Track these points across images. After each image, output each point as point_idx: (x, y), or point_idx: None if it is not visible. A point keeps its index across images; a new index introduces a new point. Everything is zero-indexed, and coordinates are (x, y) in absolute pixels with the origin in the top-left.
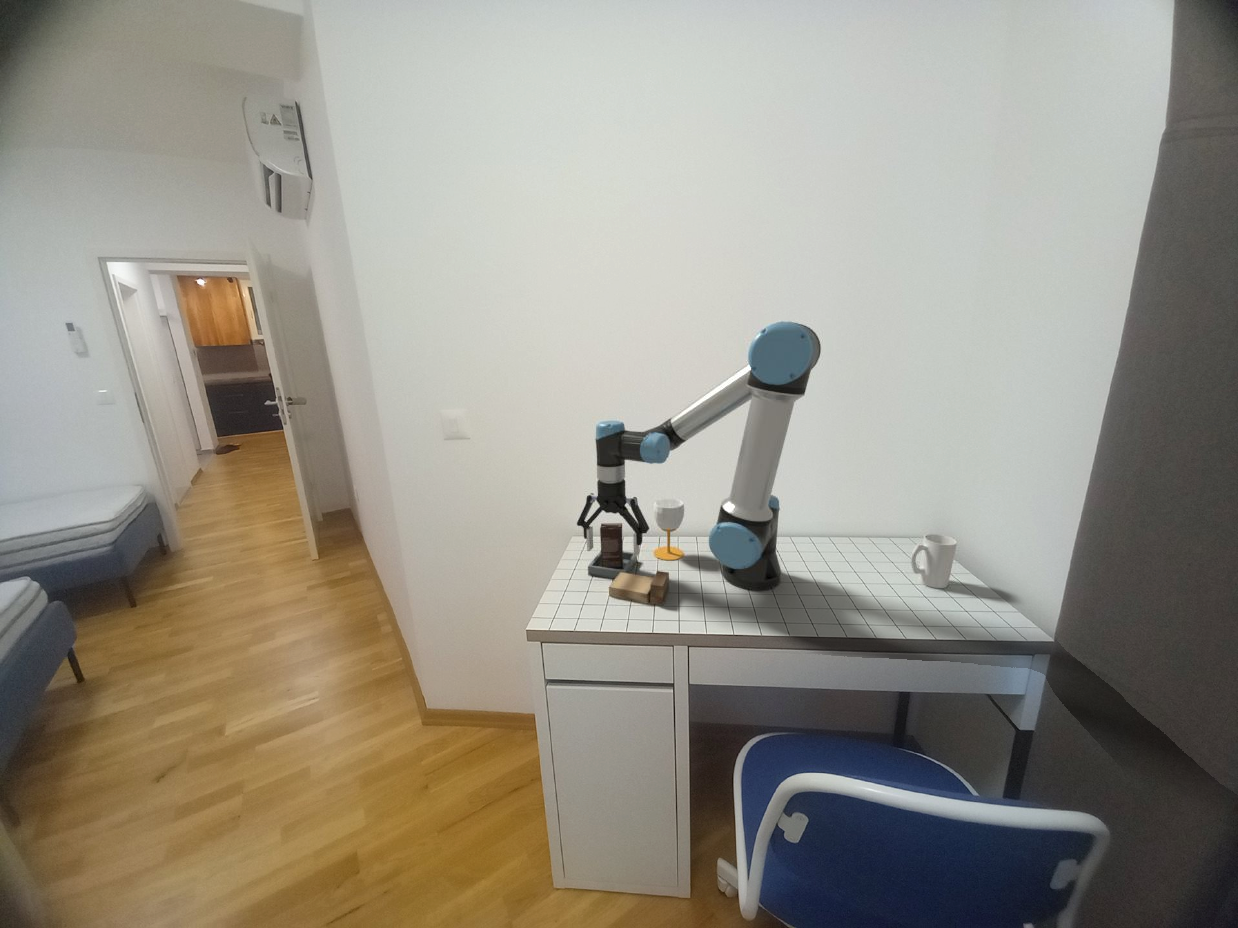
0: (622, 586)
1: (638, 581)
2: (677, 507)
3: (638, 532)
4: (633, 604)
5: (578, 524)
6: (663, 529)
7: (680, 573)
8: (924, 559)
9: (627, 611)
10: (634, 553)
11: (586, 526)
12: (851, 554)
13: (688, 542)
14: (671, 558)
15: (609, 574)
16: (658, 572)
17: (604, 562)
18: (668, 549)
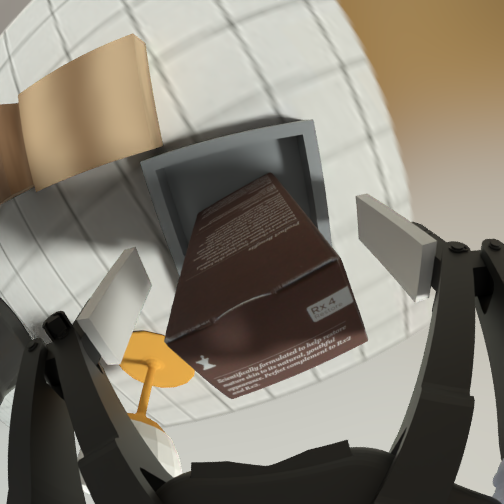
0: (90, 67)
1: (63, 133)
2: None
3: (56, 334)
4: (62, 63)
5: (493, 241)
6: (132, 417)
7: (61, 285)
8: None
9: (64, 30)
10: (125, 256)
11: (449, 253)
12: (6, 403)
13: (157, 408)
14: None
15: (210, 139)
16: (5, 187)
17: (263, 182)
18: (148, 370)
